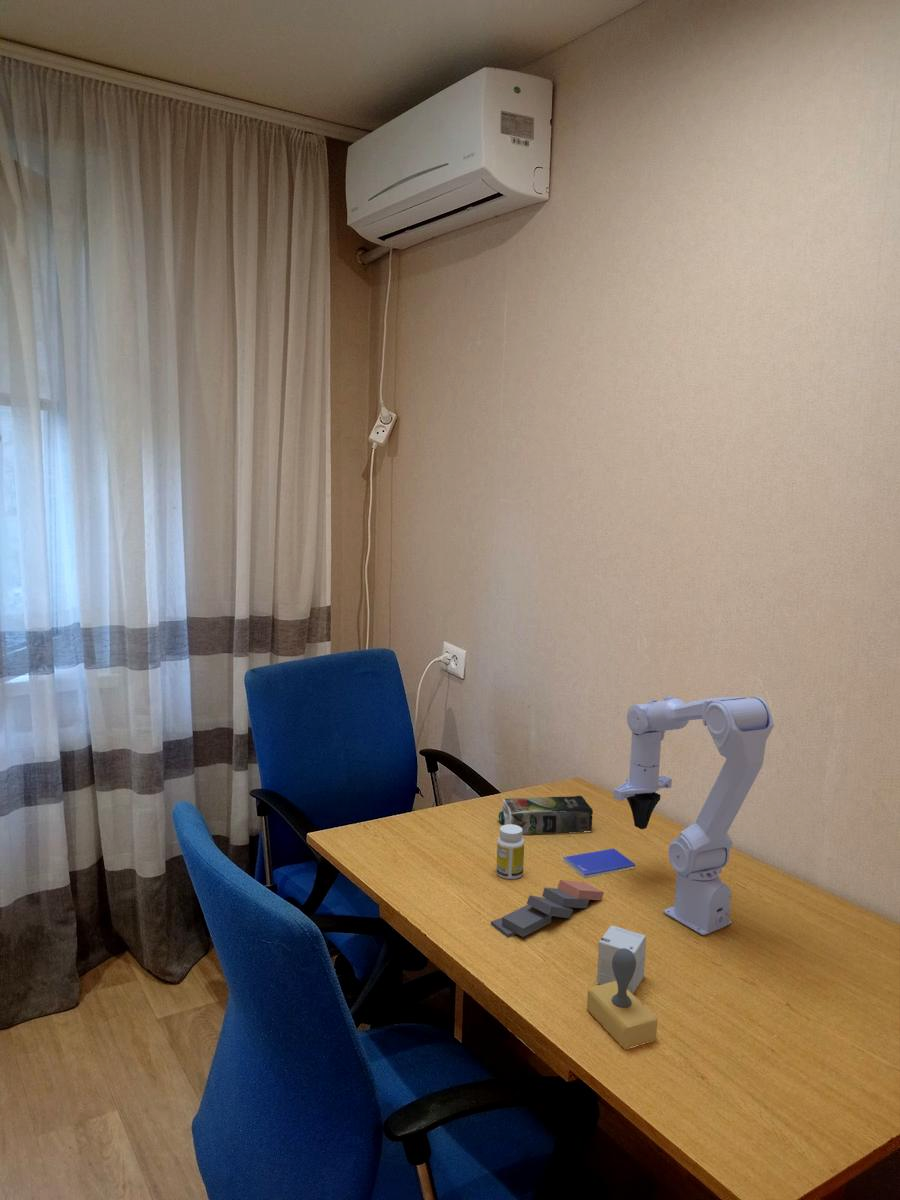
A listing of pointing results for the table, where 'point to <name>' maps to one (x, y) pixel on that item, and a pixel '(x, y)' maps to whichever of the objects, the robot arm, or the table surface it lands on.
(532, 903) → the domino
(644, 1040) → the rubber stamp
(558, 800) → the juice carton
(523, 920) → the domino
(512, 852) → the supplement bottle
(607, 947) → the skincare box
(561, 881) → the domino
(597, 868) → the hard drive
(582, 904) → the domino
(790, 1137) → the table surface
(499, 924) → the domino
